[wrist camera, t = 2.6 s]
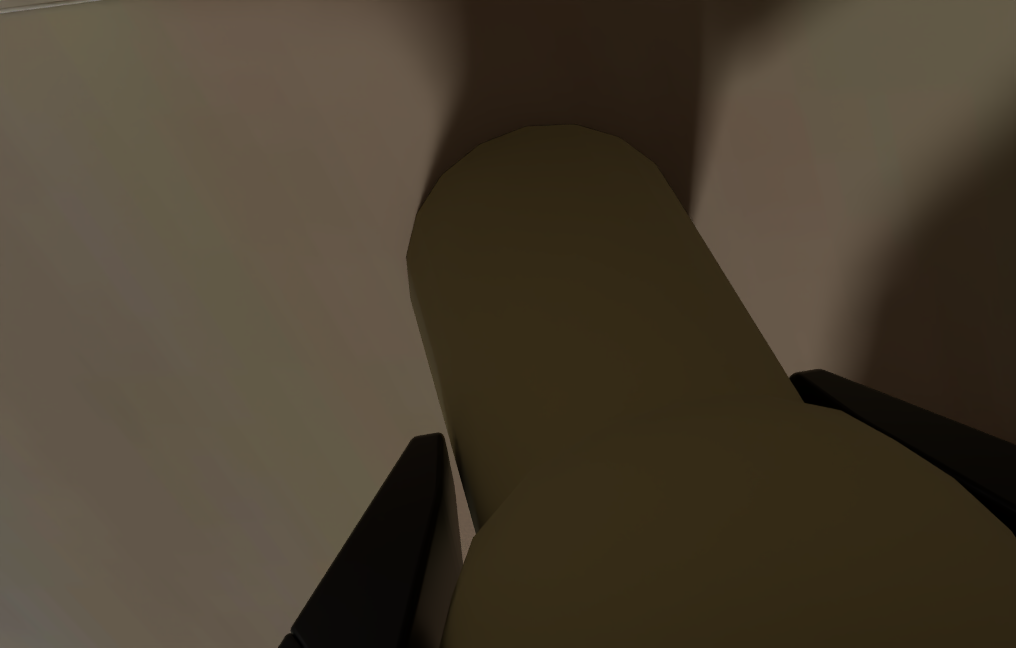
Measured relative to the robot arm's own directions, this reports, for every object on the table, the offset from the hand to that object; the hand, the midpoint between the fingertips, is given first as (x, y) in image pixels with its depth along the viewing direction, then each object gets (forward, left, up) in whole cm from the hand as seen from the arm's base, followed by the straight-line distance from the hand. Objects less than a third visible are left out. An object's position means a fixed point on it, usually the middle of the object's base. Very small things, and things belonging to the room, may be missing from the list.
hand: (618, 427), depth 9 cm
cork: (0, 0, -6) cm, 6 cm away
